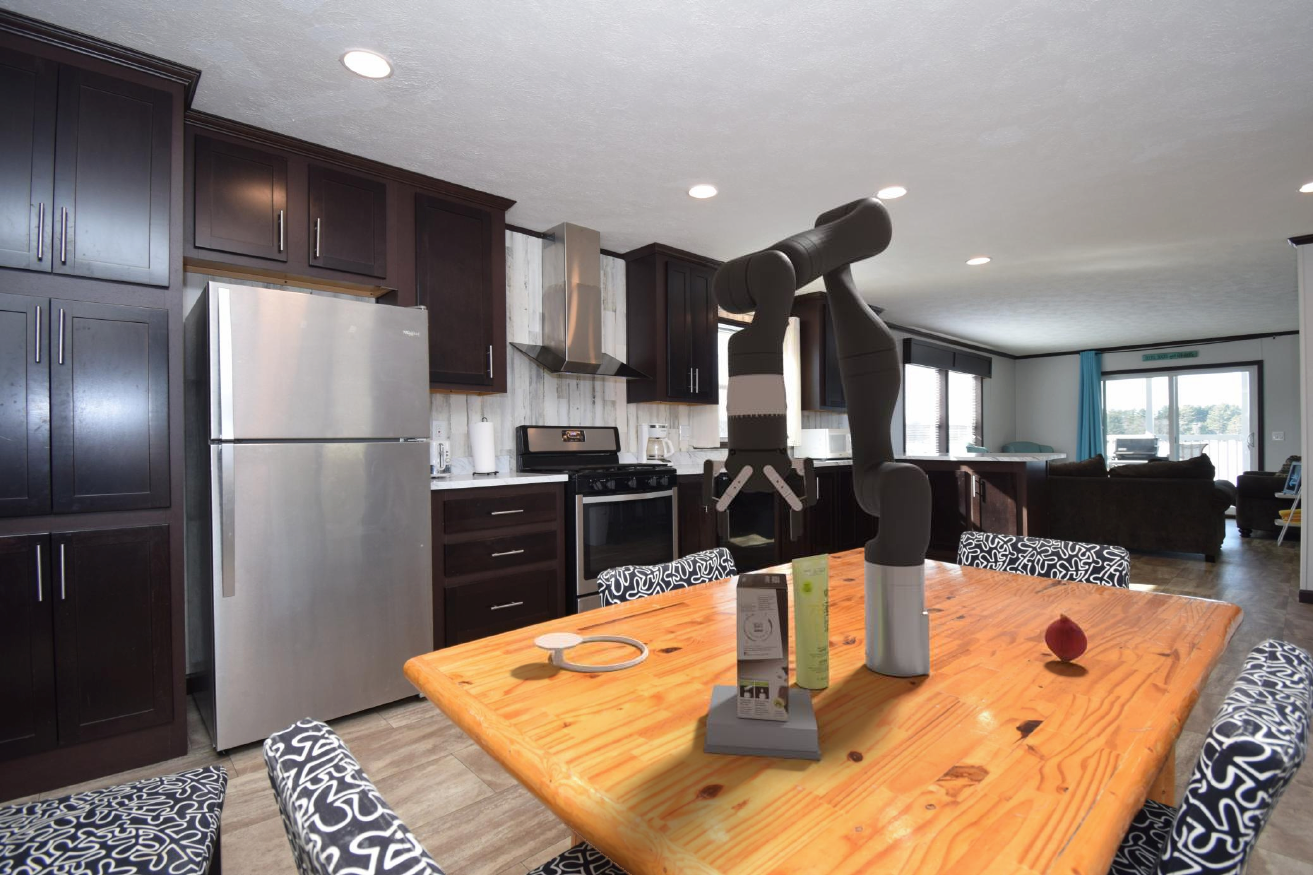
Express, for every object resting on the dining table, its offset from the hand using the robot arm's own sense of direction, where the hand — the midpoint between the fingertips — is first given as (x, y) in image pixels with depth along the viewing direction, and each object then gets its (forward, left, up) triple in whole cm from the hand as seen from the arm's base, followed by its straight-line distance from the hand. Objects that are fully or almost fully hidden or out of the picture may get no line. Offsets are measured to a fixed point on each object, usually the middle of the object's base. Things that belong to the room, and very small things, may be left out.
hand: (759, 539), depth 82 cm
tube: (-7, -17, -25) cm, 31 cm away
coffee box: (0, 0, -21) cm, 21 cm away
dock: (0, 0, -25) cm, 25 cm away
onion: (-49, -32, -25) cm, 64 cm away
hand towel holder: (+29, -25, -25) cm, 46 cm away
